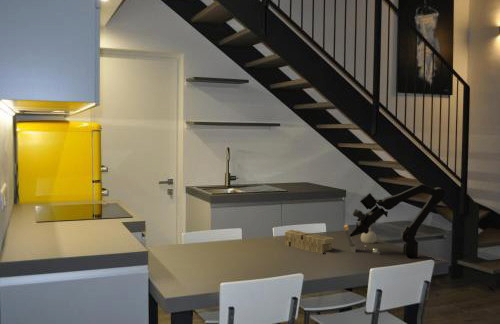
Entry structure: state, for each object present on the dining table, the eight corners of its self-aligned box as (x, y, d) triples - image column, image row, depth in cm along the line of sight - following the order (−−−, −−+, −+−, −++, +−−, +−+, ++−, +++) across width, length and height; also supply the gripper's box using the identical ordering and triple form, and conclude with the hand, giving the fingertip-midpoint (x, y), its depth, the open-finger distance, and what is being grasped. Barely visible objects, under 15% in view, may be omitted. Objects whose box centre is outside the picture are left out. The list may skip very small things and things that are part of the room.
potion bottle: (375, 242, 297) (376, 211, 296) (377, 245, 288) (378, 213, 287) (359, 241, 298) (360, 210, 297) (361, 245, 289) (362, 213, 288)
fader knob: (366, 249, 274) (366, 245, 274) (366, 250, 272) (366, 246, 271) (364, 249, 274) (364, 245, 274) (364, 249, 272) (364, 245, 272)
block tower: (282, 246, 286) (324, 255, 264) (282, 231, 285) (324, 238, 264) (292, 244, 291) (333, 252, 269) (292, 229, 291) (334, 236, 269)
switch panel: (382, 252, 273) (382, 244, 273) (384, 257, 260) (384, 250, 260) (343, 249, 277) (344, 242, 276) (344, 255, 264) (344, 247, 264)
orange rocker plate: (355, 248, 271) (347, 224, 271) (355, 250, 267) (347, 226, 267) (351, 249, 272) (343, 225, 272) (351, 251, 267) (343, 227, 267)
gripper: (361, 202, 276) (339, 221, 279) (363, 206, 258) (339, 227, 261) (376, 217, 276) (354, 236, 278) (378, 223, 257) (355, 244, 260)
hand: (350, 235), depth 269 cm, fingers closed, pressing on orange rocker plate
